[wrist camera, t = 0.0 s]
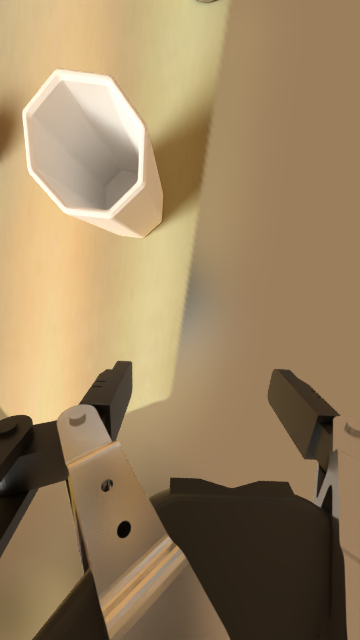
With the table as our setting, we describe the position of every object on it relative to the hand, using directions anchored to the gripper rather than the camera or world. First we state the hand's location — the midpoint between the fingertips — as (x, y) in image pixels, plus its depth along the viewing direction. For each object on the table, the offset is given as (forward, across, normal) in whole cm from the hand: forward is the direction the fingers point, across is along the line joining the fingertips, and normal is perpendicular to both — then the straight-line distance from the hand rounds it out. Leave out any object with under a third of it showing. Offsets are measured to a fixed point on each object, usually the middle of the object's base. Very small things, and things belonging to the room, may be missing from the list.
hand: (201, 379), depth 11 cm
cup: (+30, +10, -15) cm, 35 cm away
